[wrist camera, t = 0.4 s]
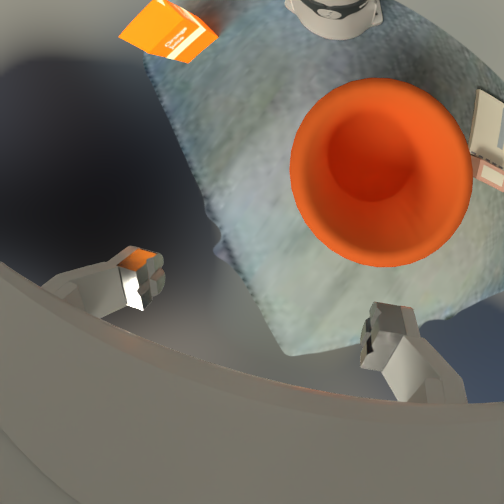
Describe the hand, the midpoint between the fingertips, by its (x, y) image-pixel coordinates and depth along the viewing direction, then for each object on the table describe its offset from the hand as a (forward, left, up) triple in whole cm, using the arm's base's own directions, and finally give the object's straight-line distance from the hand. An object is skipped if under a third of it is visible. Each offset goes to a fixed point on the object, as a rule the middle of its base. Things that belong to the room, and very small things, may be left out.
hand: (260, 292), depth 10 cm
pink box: (-7, +34, -46) cm, 58 cm away
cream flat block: (-16, +34, -46) cm, 60 cm away
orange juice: (-21, -30, -46) cm, 59 cm away
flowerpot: (-1, +9, -46) cm, 47 cm away
